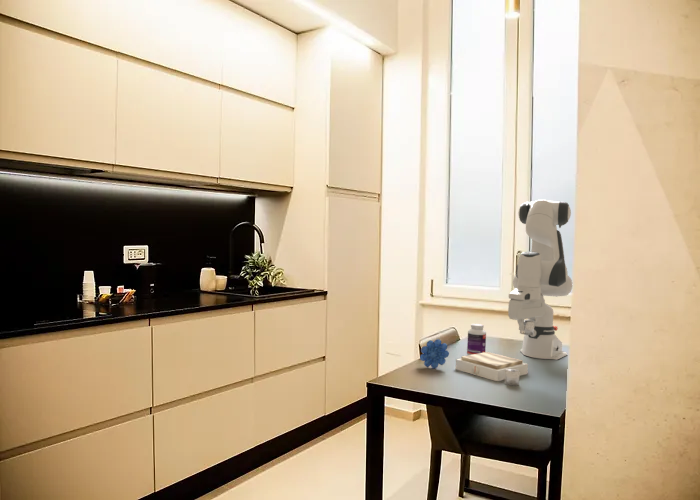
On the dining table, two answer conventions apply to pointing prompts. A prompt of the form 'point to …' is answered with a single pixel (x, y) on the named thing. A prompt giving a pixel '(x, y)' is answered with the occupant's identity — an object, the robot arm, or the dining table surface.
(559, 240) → the robot arm
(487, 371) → the base
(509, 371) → the block
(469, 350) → the pill bottle
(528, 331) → the block
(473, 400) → the dining table surface
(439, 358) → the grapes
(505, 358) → the pan
